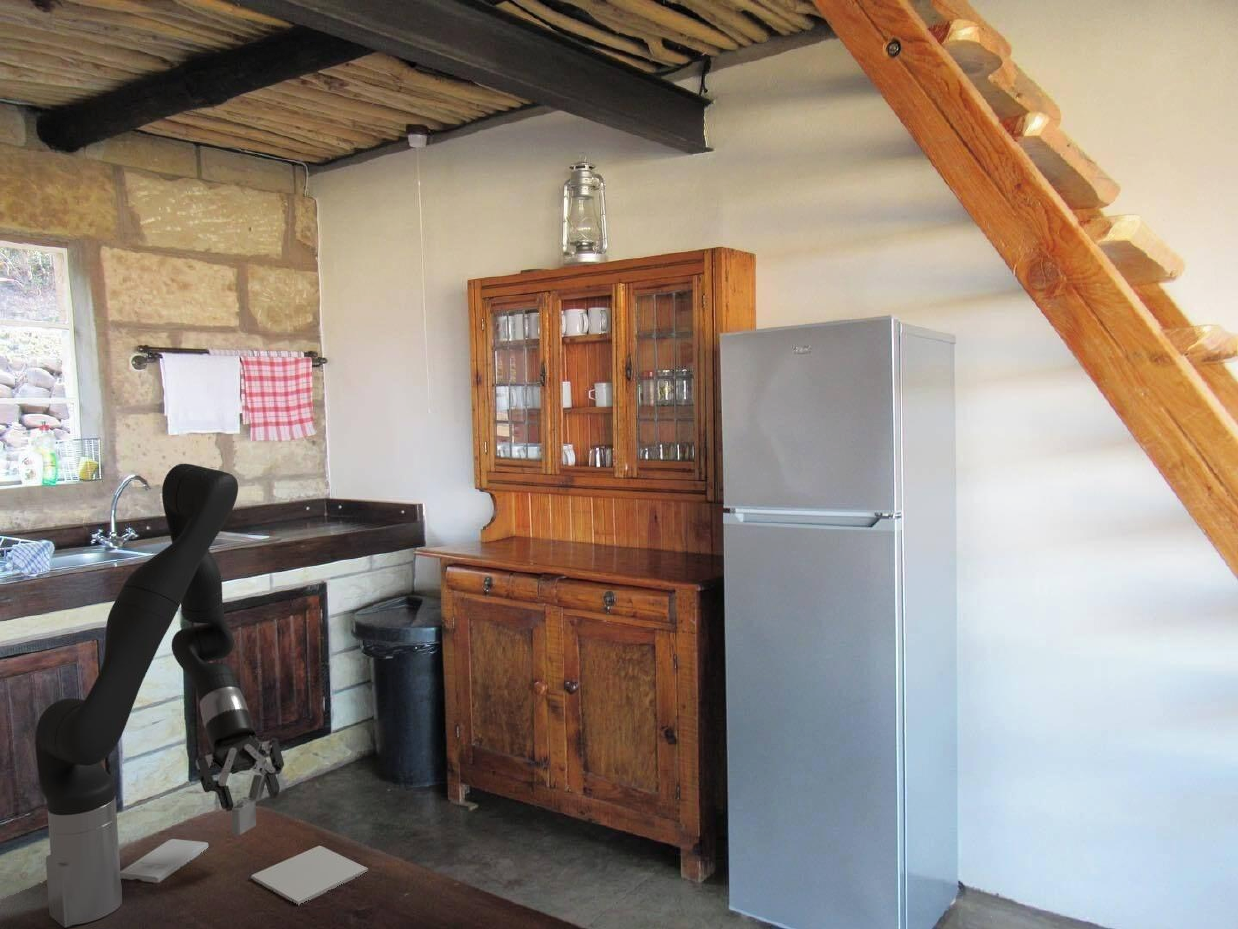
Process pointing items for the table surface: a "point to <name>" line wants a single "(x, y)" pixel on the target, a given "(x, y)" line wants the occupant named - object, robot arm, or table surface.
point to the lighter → (248, 807)
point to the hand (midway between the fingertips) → (252, 802)
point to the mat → (309, 874)
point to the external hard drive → (163, 860)
